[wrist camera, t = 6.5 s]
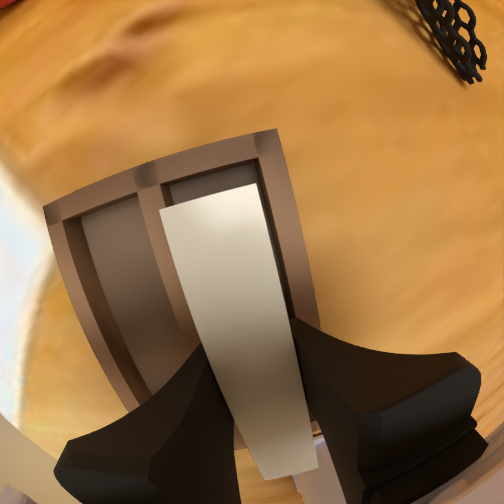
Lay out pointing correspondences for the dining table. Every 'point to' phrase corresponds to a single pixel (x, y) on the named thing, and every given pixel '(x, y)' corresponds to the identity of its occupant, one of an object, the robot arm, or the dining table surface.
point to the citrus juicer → (5, 3)
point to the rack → (166, 257)
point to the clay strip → (243, 323)
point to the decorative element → (455, 36)
